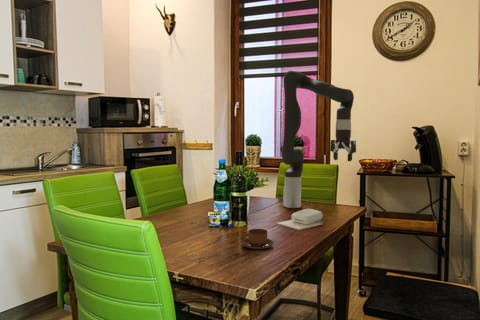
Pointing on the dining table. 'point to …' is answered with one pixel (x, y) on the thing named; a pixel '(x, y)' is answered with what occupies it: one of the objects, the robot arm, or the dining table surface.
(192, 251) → the dining table surface
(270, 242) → the cup and saucer
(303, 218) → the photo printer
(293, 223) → the pad
